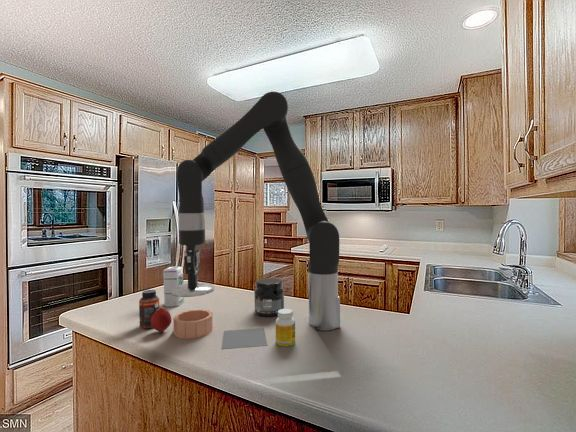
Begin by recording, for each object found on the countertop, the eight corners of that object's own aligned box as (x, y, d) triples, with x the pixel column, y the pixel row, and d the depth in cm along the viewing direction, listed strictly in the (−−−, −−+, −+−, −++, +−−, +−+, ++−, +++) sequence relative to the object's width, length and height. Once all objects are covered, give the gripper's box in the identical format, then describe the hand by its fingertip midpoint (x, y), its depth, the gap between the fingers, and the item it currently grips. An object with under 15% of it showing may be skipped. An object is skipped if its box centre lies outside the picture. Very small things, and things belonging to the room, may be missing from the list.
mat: (264, 331, 93) (264, 327, 93) (267, 349, 81) (267, 345, 81) (224, 334, 91) (223, 330, 91) (221, 352, 79) (221, 349, 79)
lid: (215, 284, 98) (215, 266, 98) (212, 295, 86) (211, 274, 86) (175, 286, 97) (175, 267, 96) (166, 298, 84) (165, 276, 84)
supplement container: (274, 307, 115) (274, 276, 114) (290, 316, 106) (289, 281, 105) (249, 313, 109) (248, 280, 108) (263, 322, 100) (263, 286, 100)
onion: (165, 326, 97) (165, 302, 97) (175, 331, 94) (174, 305, 93) (147, 332, 93) (147, 306, 92) (157, 337, 89) (156, 310, 89)
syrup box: (179, 306, 118) (178, 269, 117) (163, 306, 118) (162, 269, 117) (184, 301, 123) (183, 266, 123) (169, 302, 123) (168, 266, 123)
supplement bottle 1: (163, 325, 98) (162, 290, 98) (144, 331, 94) (143, 294, 94) (155, 321, 102) (154, 287, 102) (136, 326, 98) (135, 291, 98)
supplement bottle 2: (276, 341, 86) (275, 307, 85) (295, 341, 86) (294, 307, 85) (275, 350, 80) (274, 314, 80) (295, 350, 80) (295, 314, 80)
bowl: (214, 325, 98) (213, 308, 98) (210, 339, 87) (210, 320, 87) (178, 327, 96) (178, 310, 96) (170, 343, 85) (170, 323, 85)
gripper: (202, 229, 85) (203, 291, 85) (207, 226, 98) (208, 279, 99) (173, 230, 83) (174, 292, 84) (183, 227, 97) (184, 281, 98)
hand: (193, 285), depth 91 cm, fingers closed on lid, 2 cm apart
